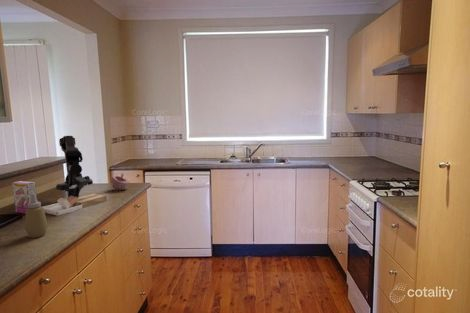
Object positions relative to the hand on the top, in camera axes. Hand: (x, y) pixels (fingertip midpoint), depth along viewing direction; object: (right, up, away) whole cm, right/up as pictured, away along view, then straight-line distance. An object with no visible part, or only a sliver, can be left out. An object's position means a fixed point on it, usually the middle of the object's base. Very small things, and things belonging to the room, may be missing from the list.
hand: (76, 199), depth 175 cm
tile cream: (-3, -1, -6) cm, 6 cm away
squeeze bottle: (+5, -10, -43) cm, 44 cm away
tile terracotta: (-1, -2, -2) cm, 3 cm away
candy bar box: (-21, -6, -11) cm, 24 cm away
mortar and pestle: (+11, +1, +37) cm, 39 cm away
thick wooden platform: (+3, -3, +6) cm, 8 cm away
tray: (-4, -5, -7) cm, 10 cm away
